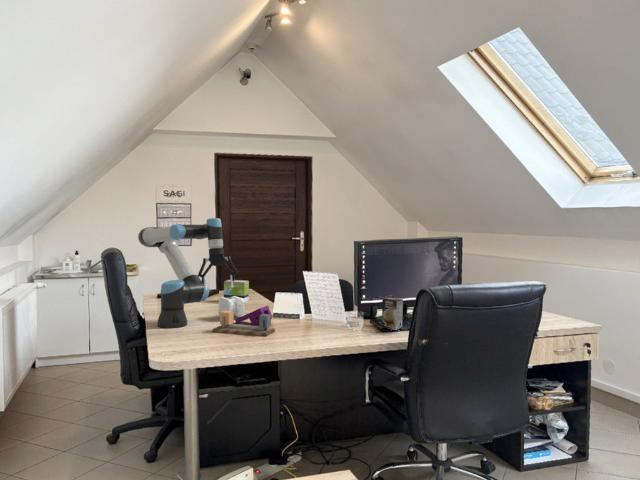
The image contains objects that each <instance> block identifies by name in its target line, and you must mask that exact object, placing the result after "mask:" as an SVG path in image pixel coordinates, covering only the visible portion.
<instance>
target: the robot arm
mask: <svg viewBox="0 0 640 480" xmlns="http://www.w3.org/2000/svg"><path fill="white" fill-rule="evenodd" d="M222 226H223V225H222V220H221V219H220V217H218V218H217V217H211V218H207V219H206V223H203V224H181V223H180V224H179V223H177V224H172V225H170V226H165V227H164V226H163V227H162V226H161V227H160V226H159V227H157V226H155V227H153V226H147V227H144V228H141V229H140V231H139V232H138V236H137V238H138V241H139V243H140V244H141V245H142V246H144V247H146V248H158V250H159V252H160V253H162V254H164V255H165V257H166V259H167V262H169V264H170V266H171V269H172V270H173V272H174V273H175V275H176V277H177V279H175V280H167V281H165V282H163V283H162V284H161V285H160V286H161V287H160V313H159V316H158V319H157V323H156V325H157V327H158V328H163V329H165V328H166V329H174V328H175V329H177V328H183V327H186V326H187V325H188V319H187V315H186V313H185V305H187V304H194V303H200V302H205V301H206V300H207V299H208V298H209V294H210V287H209V283H208V281H207V277H206V275H207V274H208V272H209V271H210V270H211V268H212V267H218V266H219V267H221V266H223V267H224V268H225V269H226V270H227V271H228V272H229V273H230V275H229V276H230V280H231V288H233V281H235V280H236V278H235V275H236V274H238V273H239V271H238V270H237V268H236V266H235V265H234V263H233V262H232V259H231V256H229V255H228V256H225V252H224V251H225V250H224V241H223V240H224V238H223V227H222ZM189 239H190V240H194V239H195V240H205V239H207V244H208V258H206V257H204V258H203V259H202V265H200V269H199V271H198V273H197V274H195V273H194V272H193V270H192V268H191V267H190V265H189V262H188V261H187V260H186V258H185V256H184V254H183V253H182V251H181V249H180V247H179V243H180V241H181V240H189ZM208 261H209V265H208V266H207V268H206V269H205V266H206V264H207V263H208ZM225 261H228V263H229V265H230V266H231V267H229V266H228V265H227V264H226V263H225ZM231 268H232V269H231ZM204 269H205V270H204ZM200 278H201V279H200Z"/></svg>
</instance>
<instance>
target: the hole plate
mask: <svg viewBox="0 0 640 480" xmlns="http://www.w3.org/2000/svg"><path fill="white" fill-rule="evenodd" d="M211 330H212V333H220V334H221V333H222V334H232V335H243V336H244V335H245V336H259V337H268V336H270V335H271V334H274V333H275V332H276V328H274V327H273V328H271V327H269V330H267V331H265V330H264V331H261V330H253V329H240V328H227V327H224V328H222V327H221V325H219V326H217V327H214V328H212V329H211Z"/></svg>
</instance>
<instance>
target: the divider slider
mask: <svg viewBox="0 0 640 480" xmlns="http://www.w3.org/2000/svg"><path fill="white" fill-rule="evenodd" d="M221 324H222V328H224V327H225V325H230V324H234V315H233V311H222V312H220V316H219V325H221Z"/></svg>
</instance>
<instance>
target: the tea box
mask: <svg viewBox="0 0 640 480" xmlns="http://www.w3.org/2000/svg"><path fill="white" fill-rule="evenodd" d="M249 293H250V281H249V280H246V279H245V280H242V279H235V281H233V288H231V279H227V280H224V281H223V298H227V299H231V297H232V296H236V297H239V298H243V299H244V300H245V302H246V303H247V302H249V296H250V295H249Z"/></svg>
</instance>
